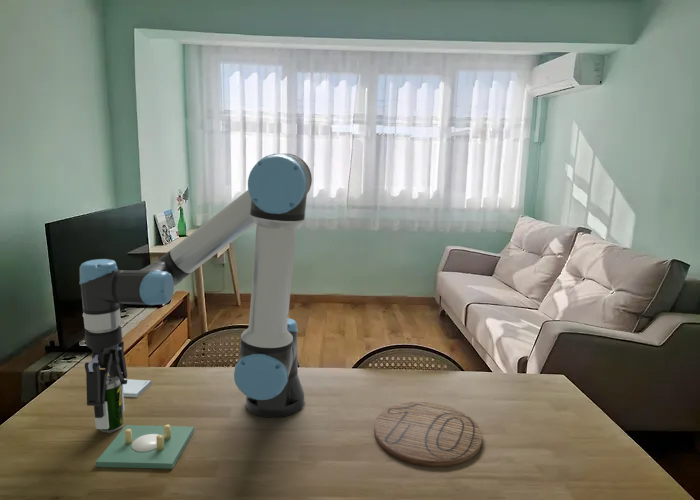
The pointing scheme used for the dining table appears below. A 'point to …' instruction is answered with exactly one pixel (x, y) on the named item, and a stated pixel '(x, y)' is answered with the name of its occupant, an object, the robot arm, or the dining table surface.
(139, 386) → the hard drive
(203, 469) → the dining table surface
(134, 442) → the board
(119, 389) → the beer can
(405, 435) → the trivet
